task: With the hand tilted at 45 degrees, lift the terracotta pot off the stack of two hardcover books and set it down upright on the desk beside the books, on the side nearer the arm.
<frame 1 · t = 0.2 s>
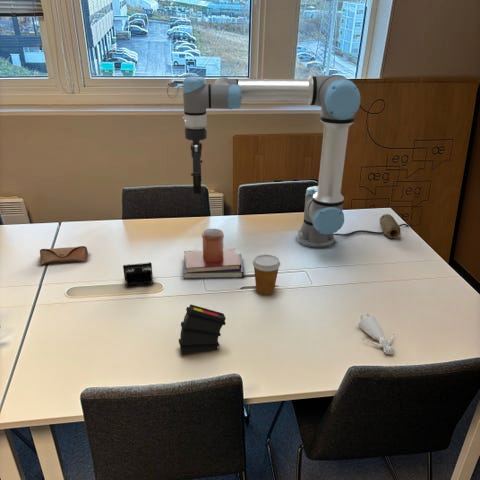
hand: (197, 187, 185), 28 cm above the table, tool pointing down, fingers open, 13 cm apart
end cap: (139, 282, 182), on the table
terracotta pot: (213, 257, 188), point 5 cm above the table, touching burgundy book
disposable coffee cup: (265, 291, 178), on the table
sunglasses case: (64, 260, 196), on the table
stone weight: (388, 233, 222), on the table
burgundy book: (211, 263, 190), point 3 cm above the table, touching navy book, terracotta pot
navy book: (213, 269, 191), on the table, touching burgundy book
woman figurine: (376, 339, 154), on the table
magazine: (202, 349, 148), on the table
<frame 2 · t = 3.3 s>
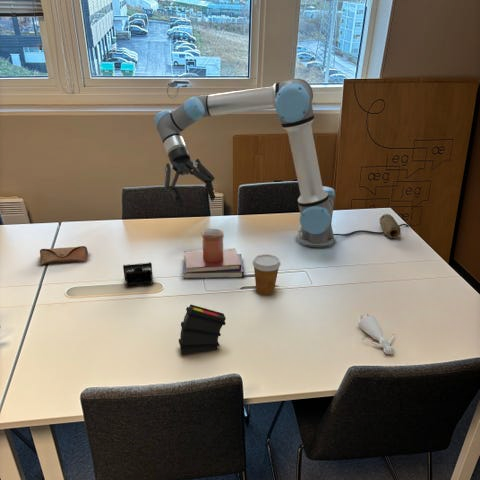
hand: (197, 202, 186), 23 cm above the table, tool tilted 45°, fingers open, 13 cm apart
nothing on the table moved.
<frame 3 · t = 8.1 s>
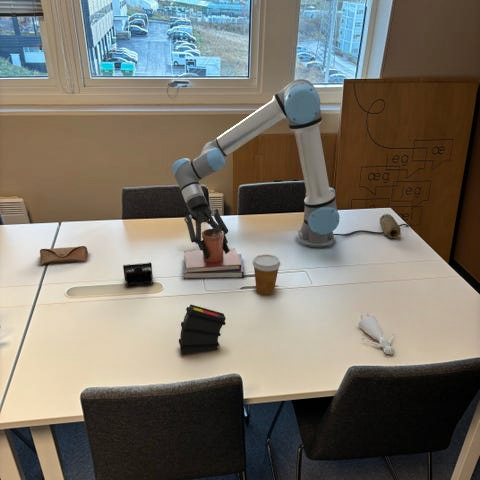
hand: (217, 254, 185), 7 cm above the table, tool tilted 45°, fingers closed on terracotta pot, 8 cm apart
terracotta pot: (213, 257, 188), point 5 cm above the table, touching burgundy book, gripper
everything else where it was.
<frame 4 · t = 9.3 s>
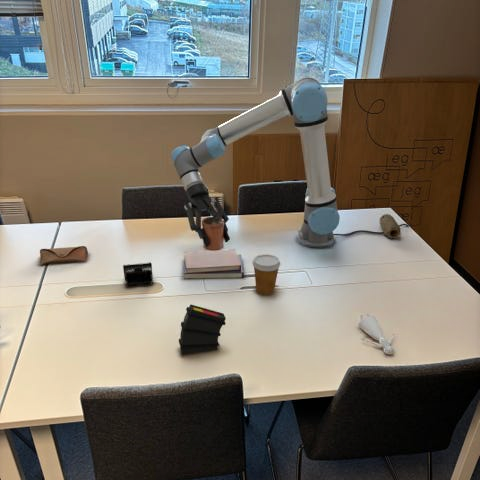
hand: (218, 243, 182), 12 cm above the table, tool tilted 45°, fingers closed on terracotta pot, 8 cm apart
terracotta pot: (213, 246, 186), point 9 cm above the table, touching gripper
burgundy book: (212, 263, 190), point 2 cm above the table, touching navy book
everything else where it was.
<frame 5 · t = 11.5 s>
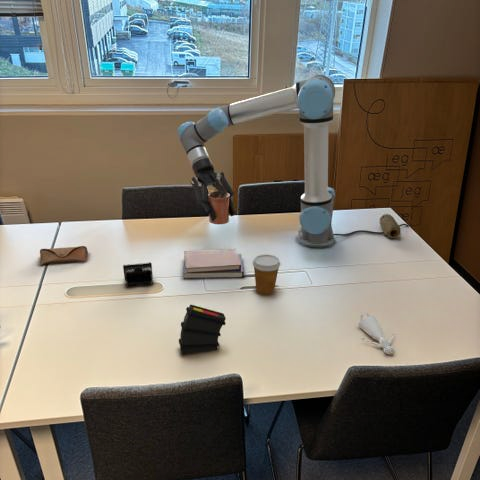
hand: (223, 216, 186), 18 cm above the table, tool tilted 45°, fingers closed on terracotta pot, 8 cm apart
terracotta pot: (219, 220, 190), point 16 cm above the table, touching gripper
everything else where it was.
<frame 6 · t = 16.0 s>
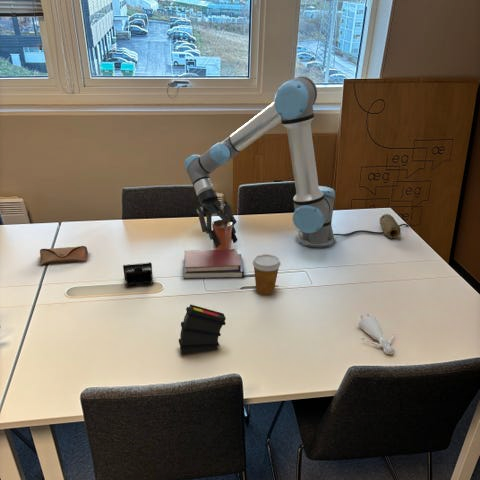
hand: (226, 243, 200), 4 cm above the table, tool tilted 45°, fingers closed on terracotta pot, 8 cm apart
terracotta pot: (222, 246, 204), point 2 cm above the table, touching gripper
everything else where it was.
when the fingers open (3 cm above the table, at t = 17.0 s): terracotta pot stays where it is, on the table.
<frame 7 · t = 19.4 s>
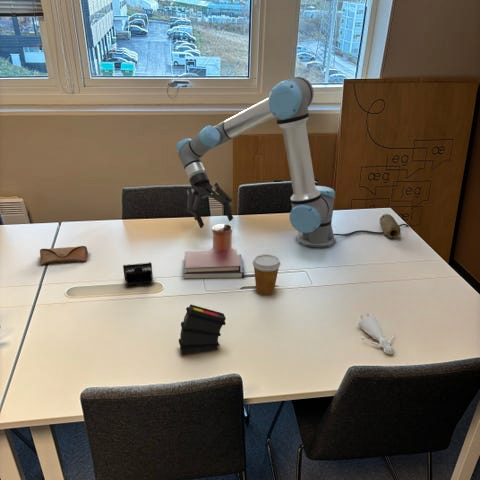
hand: (217, 223, 202), 10 cm above the table, tool tilted 45°, fingers open, 13 cm apart
terracotta pot: (222, 250, 205), on the table
everything else where it was.
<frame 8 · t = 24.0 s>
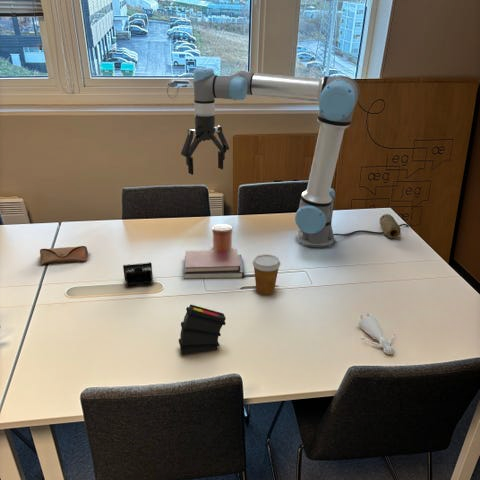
hand: (206, 171, 199), 29 cm above the table, tool pointing down, fingers open, 13 cm apart
nothing on the table moved.
at the end: terracotta pot inside the target area (0.1 cm from its centre), on the table; terracotta pot tilted 0°; burgundy book moved 0.3 cm from its start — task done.
